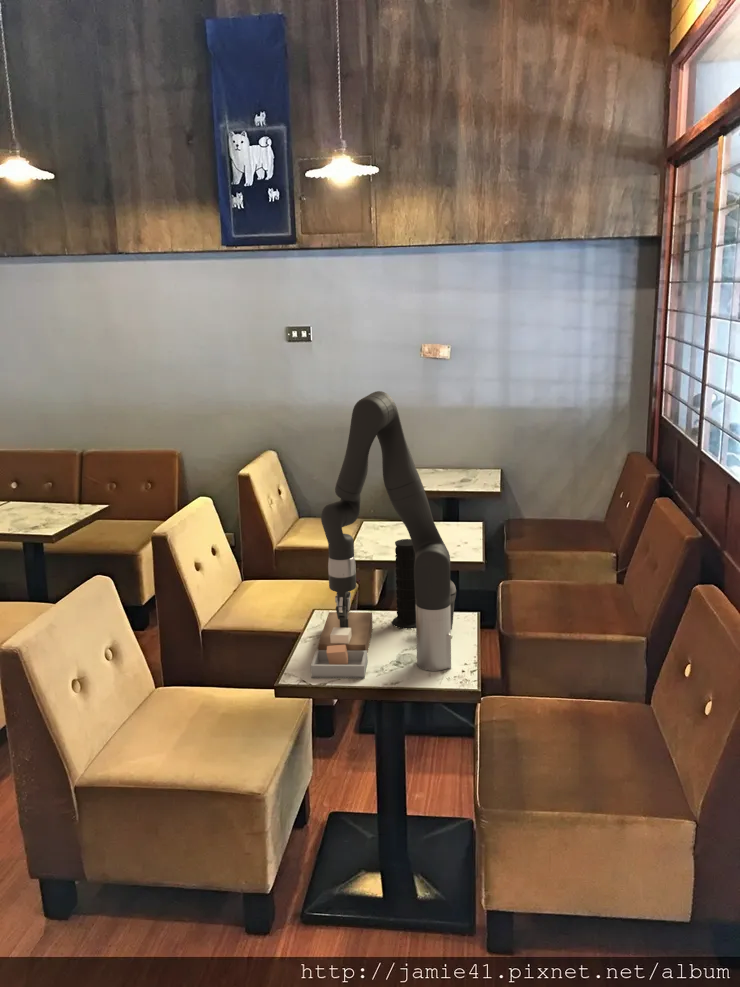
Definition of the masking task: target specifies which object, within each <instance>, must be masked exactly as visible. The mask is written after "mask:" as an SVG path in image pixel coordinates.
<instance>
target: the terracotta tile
mask: <svg viewBox="0 0 740 987" xmlns="http://www.w3.org/2000/svg"><path fill="white" fill-rule="evenodd" d="M327 657H328V661H329V665H343V664H348V653H347V649H346V645H333V646H327Z"/></svg>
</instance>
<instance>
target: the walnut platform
mask: <svg viewBox="0 0 740 987" xmlns="http://www.w3.org/2000/svg"><path fill="white" fill-rule="evenodd" d="M373 624H374V623H373V612H367V611H366V612H364V611H363V612H359V611H358V612H355V611H354V612H350V611H349V617H348V626H349V628H351V633H352V637H351V639H350V642H349V644H342V643H331V640H330V634H331V632H332V630H333V628H334V627H338V628H340V619H338V617H337V612H336V611H335V612H332V611H331V612H330V611H329V612H328V614H327V617H326V620H325V623H324V625H323V629H322V631H321V634H320V637H319V640H318V642H317V650H327V646H333V645H346V649H347V650H367V653H369V649H368V648H370V644H369V643H371V639H370V638H372V634H371V633H373V629H372V628H373V627H374V626H373Z"/></svg>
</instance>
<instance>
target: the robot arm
mask: <svg viewBox="0 0 740 987" xmlns="http://www.w3.org/2000/svg"><path fill="white" fill-rule="evenodd" d="M350 419H351V420H350V426H349V434H348V438H347V440H348V441H347V445H346V451H345V454H344V457H343V458H344V459H343V461H342V466H341V468H340V471H339V475H338V477H337V481H336V483H335V488H334V491H335V495H336V496H337V497H338V498H339V499H340V500H337V501H336V502H335V501H334V502H332V503H331V502H330V503H327V504H326V505H325V506H324V507H323V508H322V510H321V514H320V521H321V524H322V529H323V532H324V534H325V536H326V537H325V538H326V540H327V546H328V564H327V565H328V566H327V570H328V585H329V586H328V588H329V589H330V591H333V592H336V594H335V596H334V597H335V598H334V600H335V603H336V606H335V612H337V617H338V619H340V628H349V626H348V617H349V612H350V611H351V598H352V593H351V591H353V590H355V589H356V588H357V572H356V570H357V568H356V567H357V566H356V558H355V541H354V537H353V536H352V535H351V534H349V533H344V532H343V528H344V527H348V526H350V525H352V524H354V523H355V522H356V521H357V520H358V517H359V516H360V511H361V494H362V491H363V488H364V486H365V483H366V481H367V480H366V479H367V476H368V472H369V454H370V451H371V447H372V445H373V443H374V441H375V439H376V438H377V439H378V443H379V445H380V450H381V457H382V458H381V460H382V467H381V468H382V477H383V478H382V479H383V484H384V487H385V490H386V492H387V495H388V497H389V500H390V502H391V505H392V507H393V508H394V511H395V512H396V514H397V515H398V517H399V519H400V520H401V522H402V523H403V524H404V526H405V527H406V531H407V532H408V534H409V537H410V539H411V541H412V544H413V548H414V552H415V564H414V580H415V599H416V628H415V630H416V632H415V635H416V636H415V637H416V638H415V640H416V645H415V646H416V665H417V667H418V668H420V669H422V670H425V671H431V672H432V671H433V672H435V671H437V672H438V671H444V670H446V669H452V630H451V612H450V604H451V594H450V580H451V554H450V552H449V550H448V548H447V546H446V544H445V542H444V540H443V538H442V537H441V535H440V533H439V530H438V528H437V526H436V523H435V521H434V518H433V515H432V510H431V507H430V503H429V499H428V497H427V494H426V491H425V488H424V484H423V482H422V479H421V476H420V475H419V472H418V469H417V467H416V465H415V462H414V458H413V457H412V454H411V451H410V447H409V445H408V443H407V441H406V440H407V439H406V438H405V433H404V430H403V425H402V422H401V419H400V415H399V411H398V408H397V405H396V403H395V401H394V399H393V398H392V397H391V395H390V394H388V393H386V392H384V391H382V390H378V391H374V392H371V393H370V394H367V395H365V396H364V397H362V398H361V399H359V400H358V401H357V402H356V403H355V405H354V406H353V409H352V413H351V418H350Z"/></svg>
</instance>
